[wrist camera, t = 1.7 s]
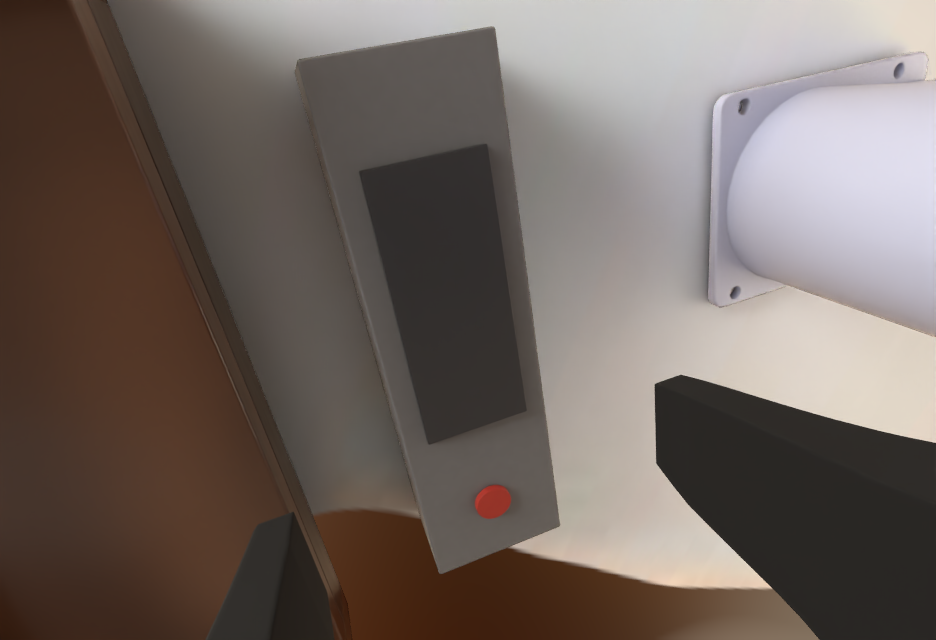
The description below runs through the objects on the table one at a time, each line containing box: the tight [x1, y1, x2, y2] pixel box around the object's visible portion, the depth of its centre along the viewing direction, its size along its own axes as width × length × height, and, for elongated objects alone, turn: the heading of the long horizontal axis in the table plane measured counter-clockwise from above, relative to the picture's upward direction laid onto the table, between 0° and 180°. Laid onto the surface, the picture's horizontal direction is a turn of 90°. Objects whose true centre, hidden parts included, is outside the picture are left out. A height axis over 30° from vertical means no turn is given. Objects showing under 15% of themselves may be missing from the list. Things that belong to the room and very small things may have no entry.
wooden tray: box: [0, 0, 352, 640], centre depth 13 cm, size 9×22×6 cm, turn 10°
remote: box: [295, 27, 560, 574], centre depth 16 cm, size 5×16×4 cm, turn 10°
